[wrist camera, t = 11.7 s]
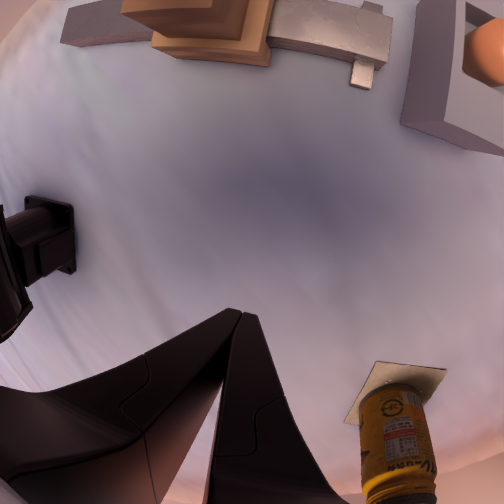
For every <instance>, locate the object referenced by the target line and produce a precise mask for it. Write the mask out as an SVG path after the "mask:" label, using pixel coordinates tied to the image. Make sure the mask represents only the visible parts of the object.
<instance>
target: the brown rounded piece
mask: <svg viewBox="0 0 504 504" xmlns="http://www.w3.org/2000/svg"><path fill="white" fill-rule="evenodd" d="M462 66H463V68H464V70H465V71H466V73H467V74H468V75H469V76H470V77H472V78H474V79H476V80H478V81H480V82H482V83H483V84H485V85H487V86H489V87H491V88H492V87H498V86H504V19H503V18H495V19H493V20H491V21H489V22H487V23H485V24H484V25H482V26H480V27H478V28H476V29H475V30H473V31H471V32H469V33H467V34H466V35H465V38H464V52H463V63H462Z"/></svg>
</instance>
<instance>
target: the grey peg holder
mask: <svg viewBox="0 0 504 504" xmlns="http://www.w3.org/2000/svg"><path fill="white" fill-rule="evenodd" d="M495 18H503V19H504V0H421V1H420V2H419V3H418V4H417V10H416V21H415V31H414V40H413V49H412V56H411V63H410V70H409V77H408V83H407V89H406V95H405V100H404V106H403V111H402V116H401V121H400V124H402V125H405V126H408V127H411V128H414V129H416V130H419V131H422V132H425V133H427V134H430V135H432V136H435V137H438V138H440V139H443V140H445V141H447V142H450V143H452V144H455V145H457V146H459V147H462V148H464V149H467V150H473V151H478V152H484V153H489V154H494V155H499V156H503V157H504V86H498V87H492V88H491V87H489V86H487V85H485V84H483V83H482V82H480V81H478V80H476V79H474V78H472V77H470V76H469V75H468V74H467V73H466V71H465V70H464V68H463V66H462V63H463V52H464V38H465V35H466V34H467V33H469V32H471V31H473V30H475V29H476V28H478V27H480V26H482V25H484V24H485V23H487V22H489V21H491V20H493V19H495Z"/></svg>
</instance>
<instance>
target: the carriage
mask: <svg viewBox="0 0 504 504" xmlns="http://www.w3.org/2000/svg"><path fill="white" fill-rule="evenodd" d="M273 3H274V0H123V3H122V7H121V11H120V14H122V15H124V16H126V17H128V18H131V19H133V20H135V21H137V22H139V23H141V24H143V25H144V26H146V27H148V28H150V29H152V30H154V33H153V37H152V41H151V46H150V47H152V48H155V49H157V50H159V51H162V52H164V53H166V54H168V55H170V56H172V57H175V58H177V59H198V60H213V61H225V62H235V63H244V64H252V65H260V66H267V67H268V66H269V61H270V56H271V51H270V49H269V47H268V45H267V43H266V41H265V40H266V35H267V31H268V26H269V21H270V16H271V12H272V7H273Z"/></svg>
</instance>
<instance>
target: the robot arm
mask: <svg viewBox="0 0 504 504" xmlns="http://www.w3.org/2000/svg"><path fill="white" fill-rule="evenodd" d="M24 203H25V211H22V212H20V213H18V214H15V215H13V216H10V217H8V218H6V219H5V218H4V213H3V211H4V209H3V204H1V205H0V344H1V343H2V342H4V341H5V340H7V339H8V338H9V337H10V336H11V335H12V334H13V333H14V331H15V330H16V329H17V328H18V326H19V325H20V324H21V322H22V321H23V320H24V319H25V317H26V316H27V315H28V314H29V312H30V311H31V310H32V309H33V305H32V302H31V301H30V299H29V297H28V294H27V291H26V289H25V287H29V286H30V285H32V284H33V283H35V282H36V281H38V280H39V279H41V278H42V277H46V276H48V275H49V274H51V273H52V272H54V271H55V270H59V271H62V272H65V273H67V274H70V275H71V274H73V273H75V271H76V267H75V253H74V233H73V208H72V206H71V205H69V204H66V203H61V202H57V201H53V200H49V199H44V198H40V197H36V196H31V195H29V196H26V197H25V199H24ZM67 210H68V212H67ZM222 383H223V385H222ZM221 386H222V391H221V396H220V402H219V408H218V414H217V420H216V426H215V431H214V437H213V443H212V449H211V455H210V461H209V467H208V473H207V479H206V485H205V491H204V497H203V503H202V504H349V503H348V502H346V501H345V500H343V499H342V498H341V497H340V496H339V495H338V494H337V493H336V492H335V491H334V490H333V489H332V487H331V486H330V485H329V483H328V482H327V480H326V478H325V477H324V475H323V473H322V471H321V470H320V468H319V466H318V464H317V462H316V461H315V459H314V457H313V455H312V453H311V452H310V450H309V448H308V446H307V444H306V443H305V441H304V439H303V437H302V435H301V433H300V431H299V429H298V427H297V425H296V423H295V420H294V418H293V415H292V413H291V411H290V408H289V405H288V402H287V399H286V397H285V396H284V391H283V388H282V386H281V383H280V380H279V377H278V374H277V371H276V368H275V365H274V362H273V360H272V357H271V354H270V351H269V348H268V345H267V342H266V339H265V336H264V333H263V330H262V327H261V324H260V321H259V318H258V316H257V315H255V314H251V313H247V312H243V313H242V312H241V311H240V310H236V309H232V308H226V309H225V310H223V311H221V312H219V313H217V314H216V315H214V316H212V317H210V318H208V319H207V320H205V321H203V322H201V323H199V324H198V325H196V326H194V327H192V328H190V329H188V330H187V331H185V332H183V333H181V334H179V335H177V336H176V337H174V338H172V339H170V340H168V341H166V342H164V343H162V344H161V345H159V346H157V347H155V348H153V349H151V350H149V351H147V352H146V353H144V354H141V355H140V356H138V357H136V358H134V359H132V360H130V361H128V362H126V363H124V364H121V365H119V366H117V367H115V368H113V369H110V370H108V371H105V372H103V373H100V374H98V375H95V376H92V377H89V378H87V379H84V380H81V381H78V382H75V383H72V384H70V385H67V386H64V387H61V388H58V389H55V390H51V391H47V392H38V393H34V392H25V391H20V390H16V389H12V388H8V387H4V386H0V504H160V503H161V502H162V500H163V498H164V496H165V495H166V493H167V491H168V489H169V487H170V485H171V483H172V481H173V480H174V478H175V476H176V474H177V472H178V470H179V468H180V466H181V465H182V463H183V461H184V459H185V457H186V455H187V453H188V451H189V449H190V447H191V445H192V443H193V441H194V440H195V438H196V436H197V434H198V432H199V430H200V428H201V426H202V424H203V422H204V420H205V418H206V416H207V414H208V412H209V410H210V408H211V406H212V404H213V402H214V400H215V398H216V396H217V394H218V392H219V390H220V388H221Z"/></svg>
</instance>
